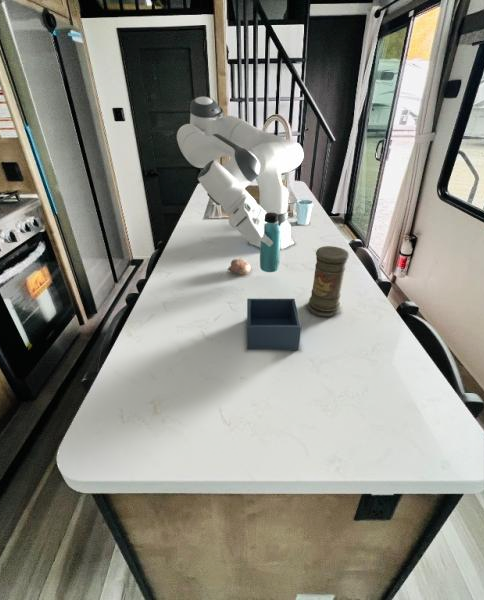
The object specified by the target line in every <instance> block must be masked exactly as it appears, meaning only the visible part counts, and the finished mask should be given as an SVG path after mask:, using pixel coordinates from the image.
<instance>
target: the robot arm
mask: <svg viewBox="0 0 484 600" xmlns="http://www.w3.org/2000/svg"><path fill="white" fill-rule="evenodd" d="M189 107H190V108H189V112H190V115H189V116H190V117H189V123H185V124H183V125H182V126H180V127H179V128H178V130H177V132H176V141H177V144H178V147H179V150H180V152H181V153H182V155H183V157H184V158H185V159H186V161H187V162H189V164H190V165H192V166H193V167H195V168H198V169H201V171H200V172H199V173H198V176H197V180H198V182H199V183H200V184H201V187H203V189H204V190H205V191H206V193H207V197H209V199H211V201H213V202H214V204H215V205H217V206H221V207H222V208H223V209H222V210H223V211H224V212H225V213H226V214H227V216H228V222H229V225H230V226H231V227H233V228H236V230H237V231H238V232H239V234H241V235H242V236H243V238H245V239H246V240H247V241H248V245H251V246H255V247H257V248H259V249H260V246H261V241H262V242H264V243H266V244H267V245H268V246H271V245H272V244H273V241H272V240H271V239H270V238H268V237H267V236H266V234H265V233H264V231H265V223H267V222H265V221H264V219H265V214H266V213H270V212H272V213H276V214H278V221H277V222H275V223H276V224H278V225H279V226H280V227H281V233H280V240H281V241H280V250H284V249H286V248H287V247H290V246H292V245H294V244H295V241H294V240H293V239H292V237H291V229H292V227H291V226H292V225H291V224H290V222H288V217H289V210H288V203H289V202H288V201H289V191H288V188H287V187H286V186H285V185H284V184H283V180H282V174H284V173H288V172H291V171H293V170H295V169H296V168H298V167H299V166H300V165H301V164H302V162H303V160H304V150H303V147H302V145H301V144H300V143H299V142H297V141H296V140H295V141H294V140H292V139H291V140H290V139H287V138H284V137H281V136H279V135H276V134H273V133H270V132H268V131H265V130H262V129H260V128H258V127H256V126H254V125H253V124H251V123H250V122H247V121H246V120H244V119H242V118H239V117H237V116H233V115H224V110H223V108H222V107H220V106H219V104H218V103H217V102H216V101H215V100H214V99H213V98H211V97H209V96H197V97H194V98H193V99H192V100H191V102H190V106H189ZM225 156H228V157H229V159H228V160H227V161H226V162H225V163H224V164H223V165H222V164H221V163H220V162H218V160H219V159H221V158H223V157H225ZM254 181H256V184H257V187H258V191H259V192H258V194H259V195H258V197H259V200H258V201H259V202H258V203H257V200H256V199H255V198H254V197H253V196H252V195H251V194H250V193H249V192H248V190H246V188H247V187H248V186H249V185H250V183H253V182H254Z"/></svg>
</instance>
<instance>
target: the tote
mask: <svg viewBox="0 0 484 600" xmlns="http://www.w3.org/2000/svg"><path fill="white" fill-rule="evenodd" d="M301 325H302V324H301V321H300V317H299V313H298V308H297V304H296V300H295V298H247V299H246V350H249V351H251V350H252V351H253V350H254V351H255V350H256V351H257V350H258V351H299V348H300V340H301V332H302V326H301Z"/></svg>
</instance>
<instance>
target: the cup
mask: <svg viewBox="0 0 484 600" xmlns="http://www.w3.org/2000/svg"><path fill="white" fill-rule="evenodd" d="M313 206H314V202H313V201H312V200H310V199H299V200H297V201H296V223H297V225H300V226H306V225H309V223H310V218H311V215H312V214H311V213H312V209H313Z"/></svg>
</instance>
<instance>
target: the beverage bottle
mask: <svg viewBox="0 0 484 600" xmlns="http://www.w3.org/2000/svg"><path fill="white" fill-rule="evenodd" d="M264 221H265V222H267V223H265V231H264V233H265V234H266V236H267V237H268V238H270V239H271V240H272V241H273V244H272V245H271V246H268V245H267V244H266V243H264V242H262V241H261V246H260V248H259V249H260V250H259V252H260V253H259V268H260V270H261V271H262V272H265V273H275V272H277V271H278V270H279V268H280V257H281V255H280V254H281V249H280V241H281V240H280V233H281V227H280V226H279V225H278V224H276V223H275V222H277V221H278V214H276V213H272V212H270V213H266V214H265V219H264Z"/></svg>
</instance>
